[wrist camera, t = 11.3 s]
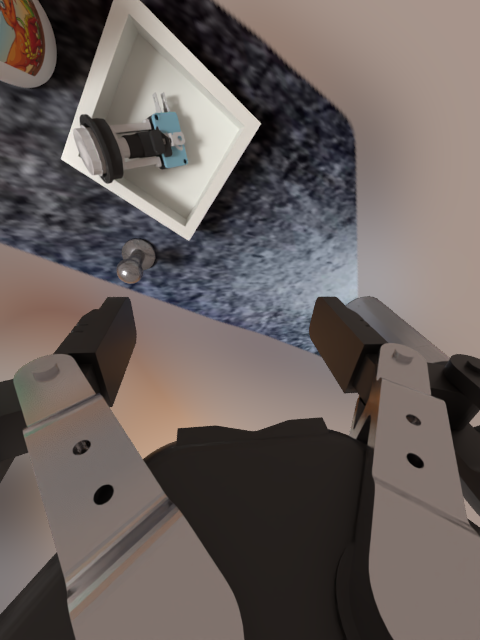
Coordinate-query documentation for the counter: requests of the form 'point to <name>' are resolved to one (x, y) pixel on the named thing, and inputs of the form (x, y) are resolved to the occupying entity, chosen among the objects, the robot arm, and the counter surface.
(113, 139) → the push button
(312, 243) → the counter surface
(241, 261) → the counter surface
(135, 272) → the ball stud post
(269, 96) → the counter surface
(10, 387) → the robot arm
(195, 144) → the bin
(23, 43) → the milk bottle
